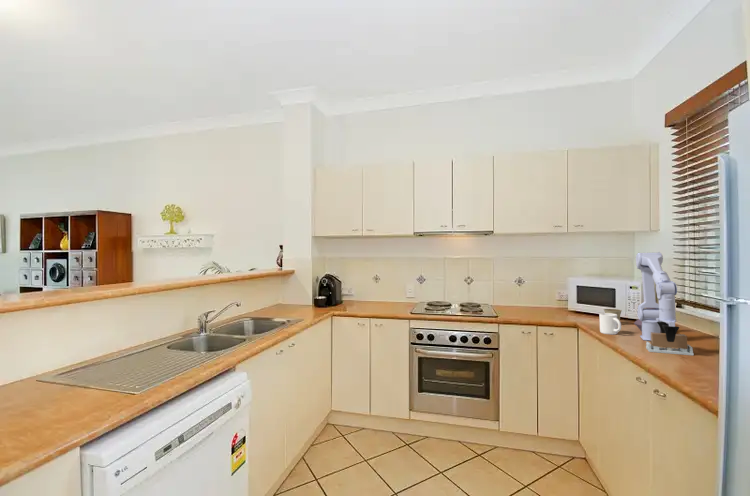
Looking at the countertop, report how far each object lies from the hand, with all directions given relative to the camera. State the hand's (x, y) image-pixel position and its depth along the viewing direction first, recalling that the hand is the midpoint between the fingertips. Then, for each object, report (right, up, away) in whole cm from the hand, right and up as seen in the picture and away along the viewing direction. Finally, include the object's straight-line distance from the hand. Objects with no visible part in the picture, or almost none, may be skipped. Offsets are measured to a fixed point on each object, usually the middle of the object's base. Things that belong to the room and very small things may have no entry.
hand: (668, 339), depth 158 cm
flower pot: (+16, -6, +60) cm, 63 cm away
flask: (+22, -6, +37) cm, 43 cm away
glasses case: (0, -3, 0) cm, 3 cm away
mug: (-1, -6, +36) cm, 36 cm away
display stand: (0, -5, 0) cm, 5 cm away
